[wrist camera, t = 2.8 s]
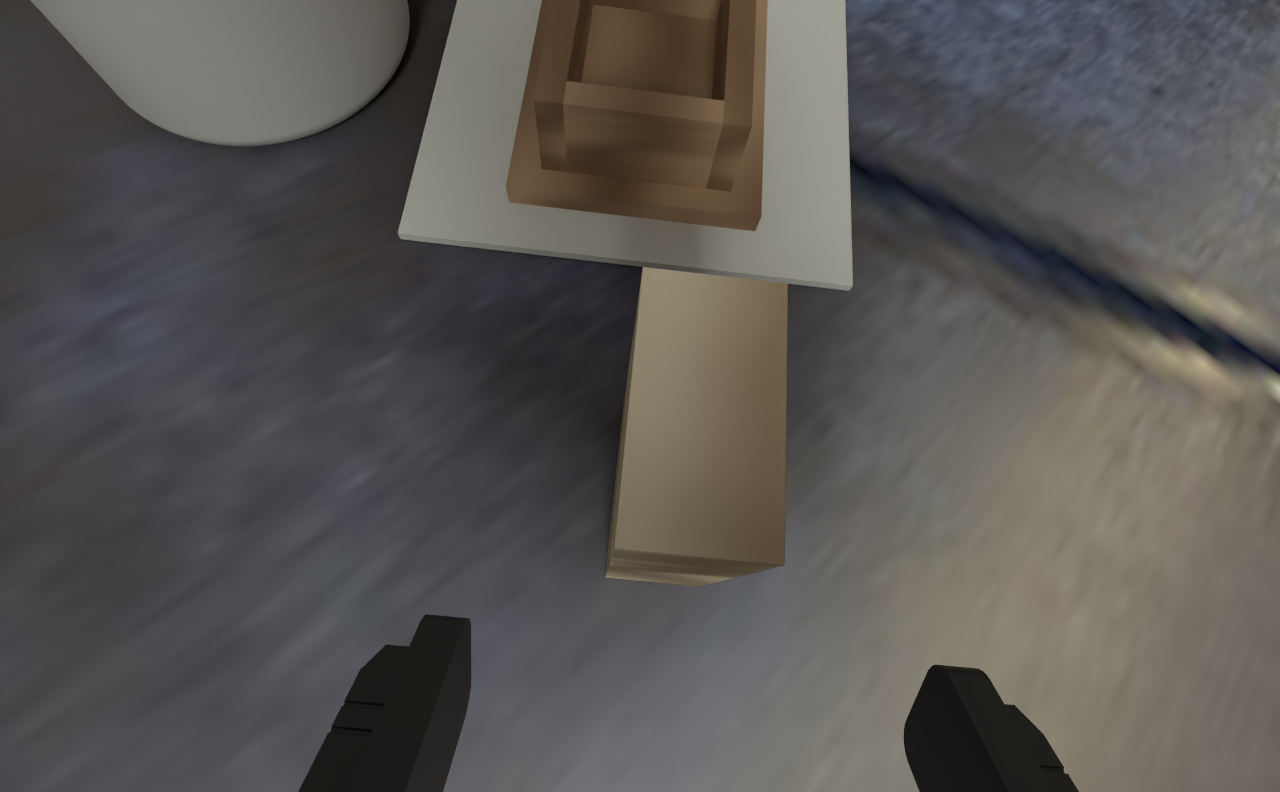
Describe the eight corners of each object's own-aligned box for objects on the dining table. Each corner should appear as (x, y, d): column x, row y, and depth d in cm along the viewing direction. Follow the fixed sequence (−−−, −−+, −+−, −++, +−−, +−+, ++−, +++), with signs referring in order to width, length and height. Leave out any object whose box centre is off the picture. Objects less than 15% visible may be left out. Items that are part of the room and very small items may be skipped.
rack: (509, 202, 25) (491, 118, 21) (549, -14, 29) (542, -121, 25) (755, 231, 25) (787, 155, 21) (762, 14, 29) (790, -87, 25)
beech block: (605, 577, 21) (614, 547, 12) (622, 408, 23) (642, 266, 14) (699, 586, 21) (784, 565, 12) (708, 417, 23) (788, 283, 14)
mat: (400, 239, 25) (397, 233, 24) (472, -47, 30) (471, -55, 30) (849, 290, 25) (852, 285, 25) (841, 2, 31) (845, -6, 30)
